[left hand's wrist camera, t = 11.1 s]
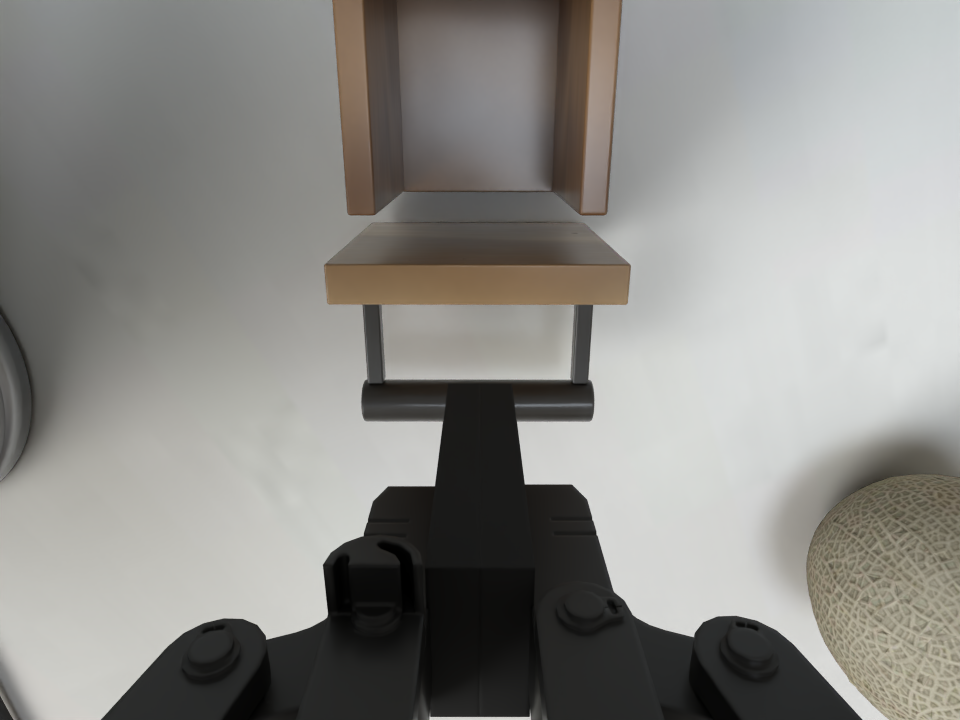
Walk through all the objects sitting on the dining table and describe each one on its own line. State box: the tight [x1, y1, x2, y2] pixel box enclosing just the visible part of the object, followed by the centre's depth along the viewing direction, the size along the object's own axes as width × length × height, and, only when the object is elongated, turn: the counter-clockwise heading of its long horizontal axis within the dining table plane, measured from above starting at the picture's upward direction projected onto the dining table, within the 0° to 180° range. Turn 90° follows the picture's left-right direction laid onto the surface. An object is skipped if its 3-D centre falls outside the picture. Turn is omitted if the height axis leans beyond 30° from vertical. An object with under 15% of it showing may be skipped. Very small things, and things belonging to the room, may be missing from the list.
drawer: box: [324, 0, 631, 421], centre depth 20 cm, size 22×9×8 cm, turn 0°
